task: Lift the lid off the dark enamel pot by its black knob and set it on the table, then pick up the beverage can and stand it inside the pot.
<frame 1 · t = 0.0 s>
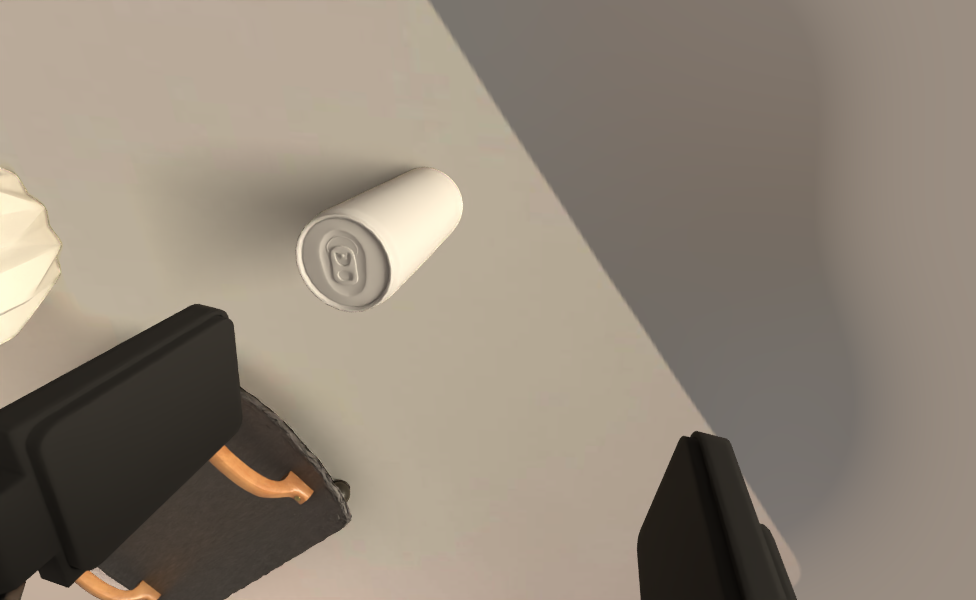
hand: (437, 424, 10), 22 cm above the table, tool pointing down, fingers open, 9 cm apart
vase: (5, 225, 40), on the table
serving tray: (194, 484, 50), on the table
beverage can: (431, 202, 32), on the table
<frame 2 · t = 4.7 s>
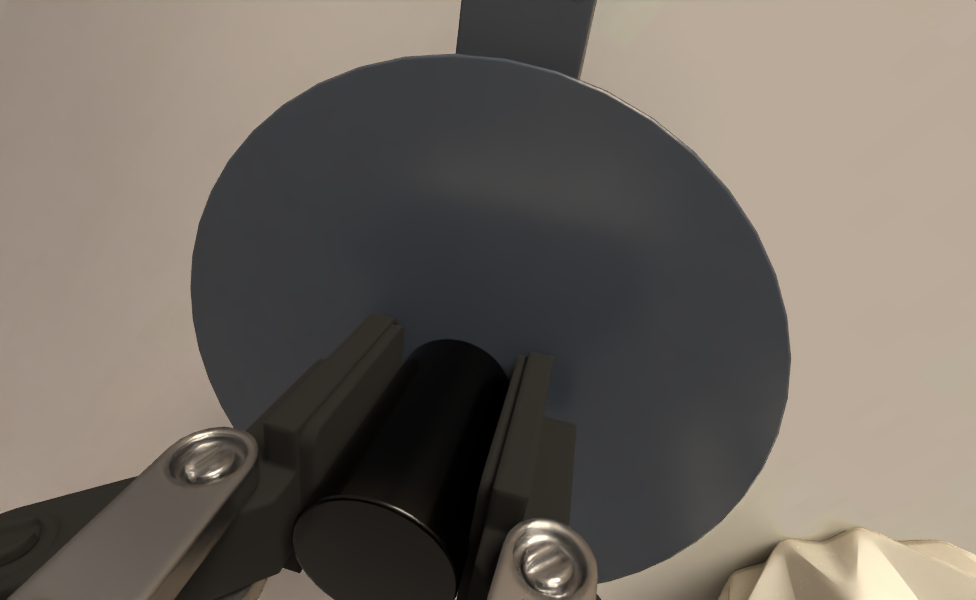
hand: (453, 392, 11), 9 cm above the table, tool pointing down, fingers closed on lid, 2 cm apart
pot: (517, 258, 19), on the table
lid: (461, 375, 11), point 9 cm above the table, touching gripper, pot
when the fingers open (1 cm above the table, at t = 12.2 s): lid stays where it is, point 1 cm above the table.
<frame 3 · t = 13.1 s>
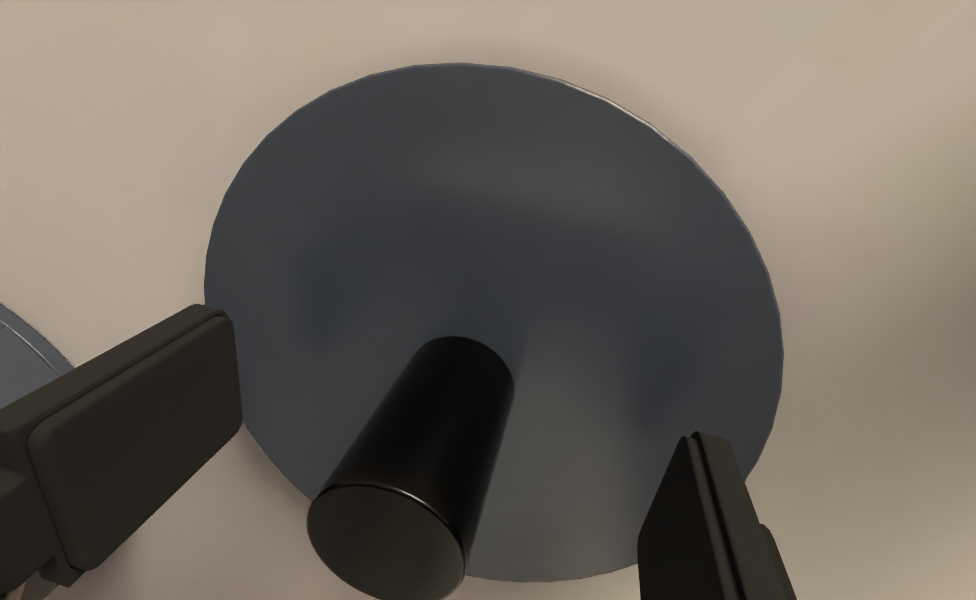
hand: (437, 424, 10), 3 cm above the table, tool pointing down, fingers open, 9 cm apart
lid: (466, 372, 12), point 1 cm above the table
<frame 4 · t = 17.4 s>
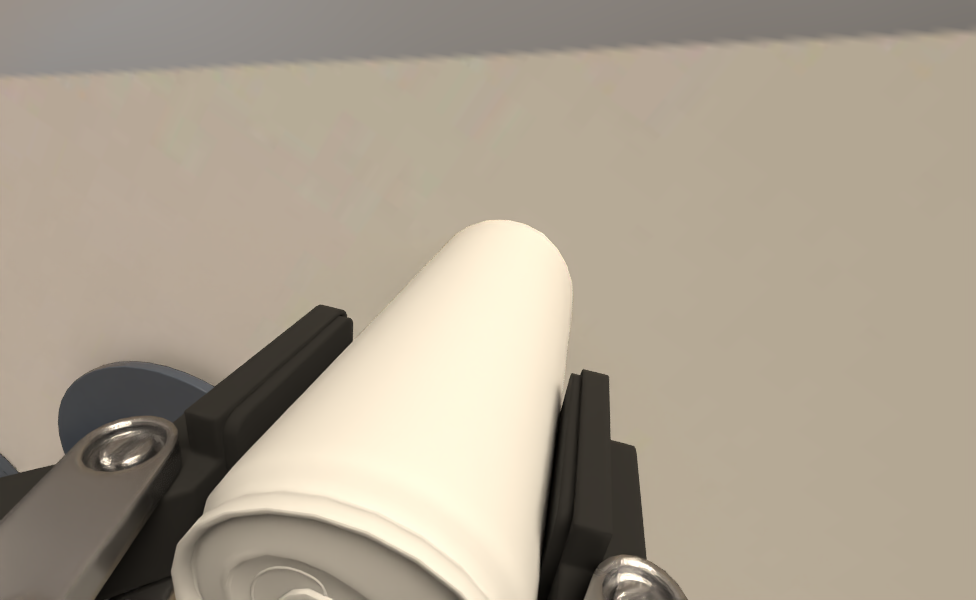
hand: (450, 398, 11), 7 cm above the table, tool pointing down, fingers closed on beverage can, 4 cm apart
lid: (187, 477, 24), point 1 cm above the table
beverage can: (506, 280, 17), on the table, touching gripper
when the fingers open (7 cm above the table, at t = 25.6 s): beverage can stays where it is, resting on pot.
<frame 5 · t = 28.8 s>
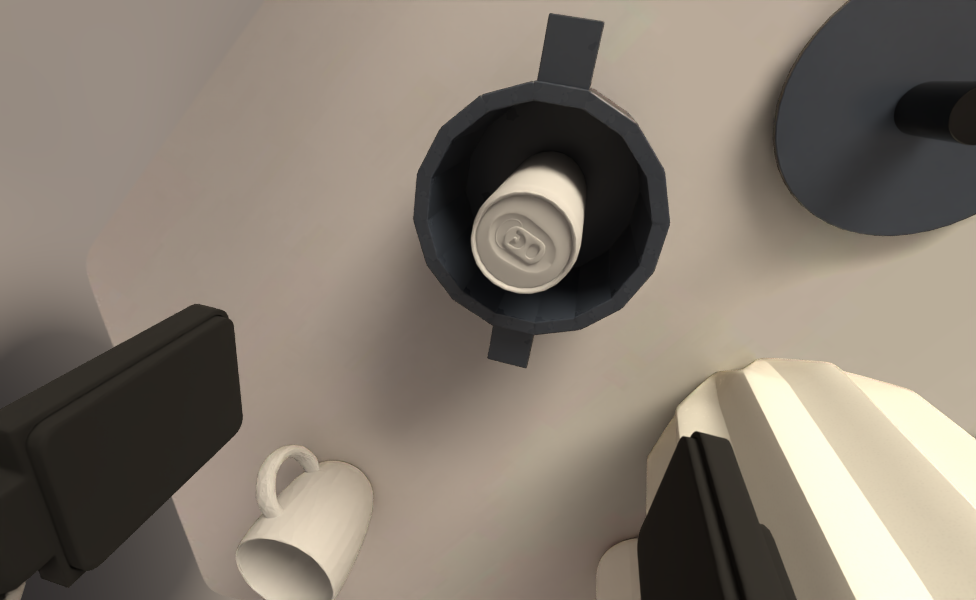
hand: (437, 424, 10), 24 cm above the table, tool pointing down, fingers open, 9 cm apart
wine bottle: (649, 568, 44), on the table
mug: (336, 468, 47), on the table
vase: (763, 425, 35), on the table
pot: (550, 188, 31), on the table
lid: (917, 108, 25), point 1 cm above the table
beverage can: (550, 188, 31), resting on pot
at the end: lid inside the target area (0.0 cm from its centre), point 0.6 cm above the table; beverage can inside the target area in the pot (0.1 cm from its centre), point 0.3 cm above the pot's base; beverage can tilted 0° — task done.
